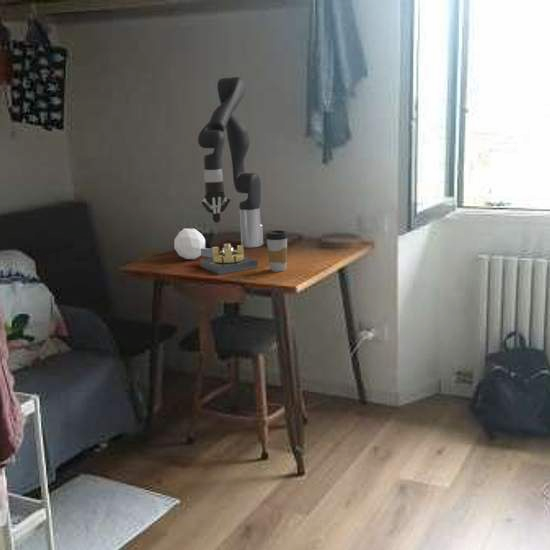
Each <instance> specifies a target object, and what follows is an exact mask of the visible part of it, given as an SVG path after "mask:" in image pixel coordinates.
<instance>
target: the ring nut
mask: <svg viewBox="0 0 550 550" xmlns="http://www.w3.org/2000/svg"><path fill="white" fill-rule="evenodd" d="M223 247H232V245H231V243H223ZM236 247H237V249H233V251H234V255H232V248H229V249H225V256H223V251H222V250H221V247H219V246H212V247H210V248H208V247H205V248H201V255H200V256H202V257H208V258H213V261H214V262H218V263H223V262H224V263H232V262H238V261H242V260H244V256H245V251H244V250H245V249H244V248H245V247H243V245H241V244H240V245H239V244H238V245H236Z"/></svg>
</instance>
